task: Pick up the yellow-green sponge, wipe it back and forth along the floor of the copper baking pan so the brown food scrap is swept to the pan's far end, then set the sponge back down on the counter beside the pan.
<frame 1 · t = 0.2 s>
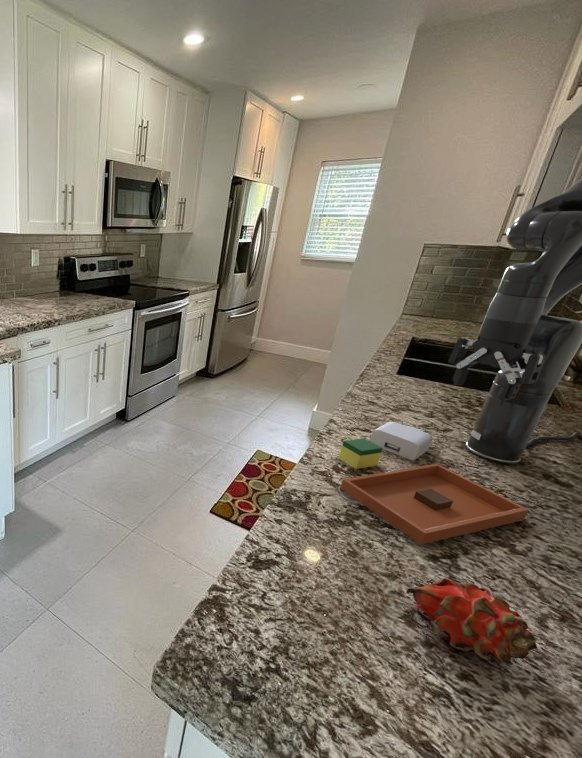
hand: (480, 392, 88), 17 cm above the countertop, tool pointing down, fingers open, 8 cm apart
dragon fruit: (455, 638, 53), on the countertop
scrap: (431, 502, 78), point 1 cm above the countertop, touching pan
charger: (401, 446, 100), on the countertop
sponge: (356, 463, 91), on the countertop
pan: (426, 506, 78), on the countertop
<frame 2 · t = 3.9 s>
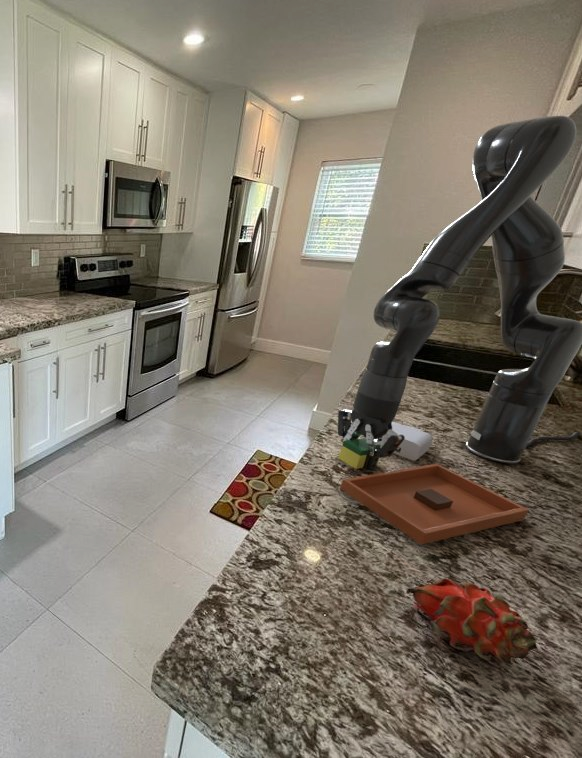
hand: (356, 462, 91), 0 cm above the countertop, tool pointing down, fingers closed on sponge, 4 cm apart
sponge: (356, 463, 91), on the countertop, touching gripper
everything else where it was.
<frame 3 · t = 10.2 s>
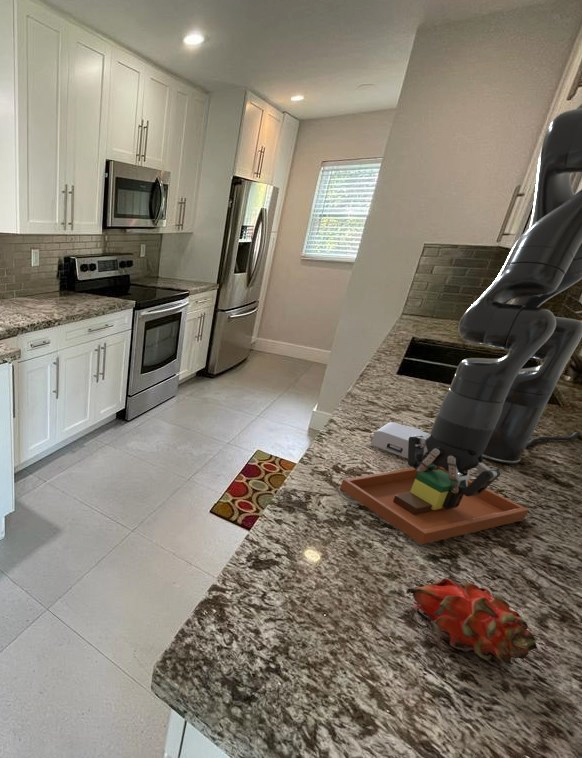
hand: (432, 498, 78), 2 cm above the countertop, tool pointing down, fingers closed on sponge, 4 cm apart
scrap: (410, 506, 77), point 1 cm above the countertop, touching pan
sponge: (432, 500, 78), point 1 cm above the countertop, touching gripper
everything else where it was.
when the fingers open (0 cm above the countertop, at t = 22.8 s): sponge stays where it is, on the countertop.
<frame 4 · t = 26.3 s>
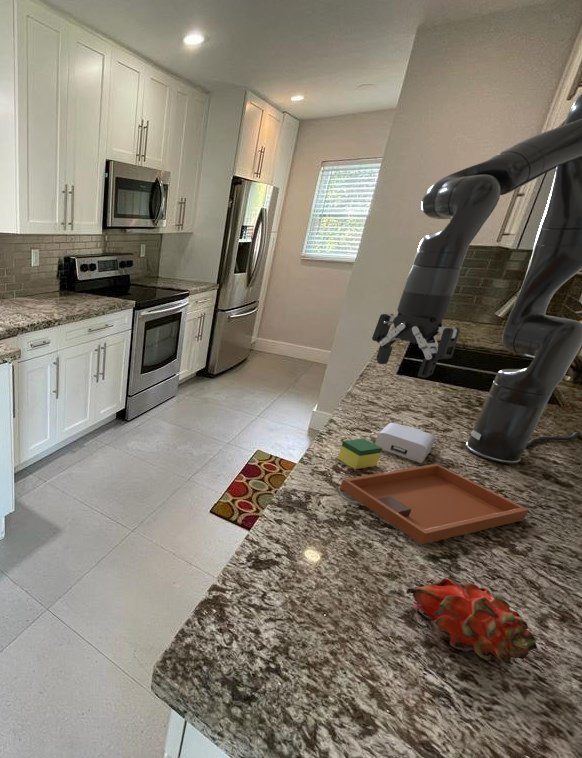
hand: (401, 369, 85), 22 cm above the countertop, tool pointing down, fingers open, 8 cm apart
scrap: (390, 510, 75), point 1 cm above the countertop, touching pan
sponge: (355, 464, 91), on the countertop
everything else where it was.
at the end: scrap inside the target area in the pan (1.2 cm from its centre), point 0.6 cm above the pan's base; sponge inside the target area (0.2 cm from its centre), on the countertop; the gripper is holding nothing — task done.
